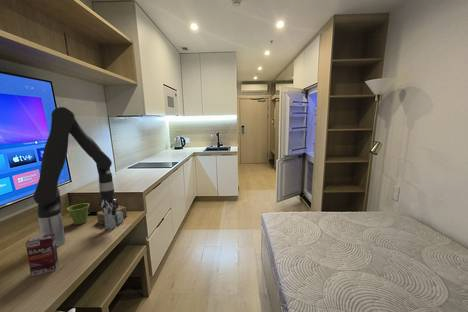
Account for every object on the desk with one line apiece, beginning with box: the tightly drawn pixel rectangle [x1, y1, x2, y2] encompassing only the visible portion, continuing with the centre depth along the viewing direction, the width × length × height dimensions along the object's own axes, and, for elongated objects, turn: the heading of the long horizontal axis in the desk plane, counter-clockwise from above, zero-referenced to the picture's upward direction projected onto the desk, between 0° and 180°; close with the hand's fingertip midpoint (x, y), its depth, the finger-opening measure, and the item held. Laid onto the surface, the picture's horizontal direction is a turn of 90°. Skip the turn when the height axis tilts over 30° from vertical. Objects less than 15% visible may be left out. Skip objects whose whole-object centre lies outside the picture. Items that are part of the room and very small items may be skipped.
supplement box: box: [25, 233, 59, 277], centre depth 90 cm, size 9×5×16 cm, turn 118°
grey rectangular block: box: [115, 211, 124, 225], centre depth 134 cm, size 4×4×7 cm
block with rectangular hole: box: [96, 205, 128, 225], centre depth 139 cm, size 14×10×7 cm
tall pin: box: [103, 205, 117, 231], centre depth 127 cm, size 4×4×14 cm
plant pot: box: [66, 202, 90, 226], centre depth 135 cm, size 12×12×11 cm
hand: (109, 213), depth 126 cm, fingers open, 8 cm apart
